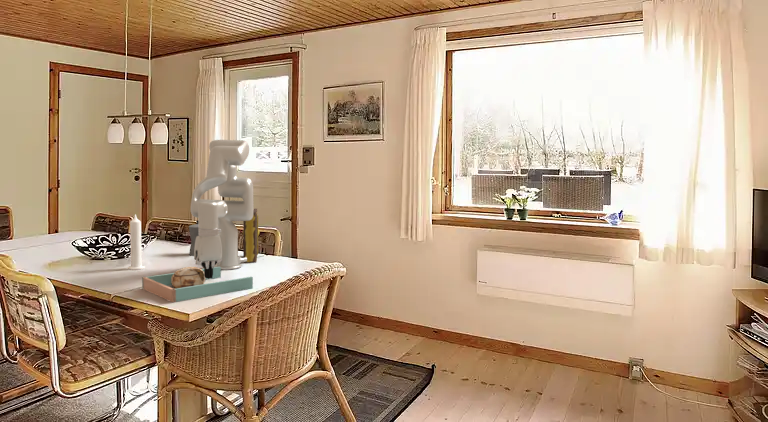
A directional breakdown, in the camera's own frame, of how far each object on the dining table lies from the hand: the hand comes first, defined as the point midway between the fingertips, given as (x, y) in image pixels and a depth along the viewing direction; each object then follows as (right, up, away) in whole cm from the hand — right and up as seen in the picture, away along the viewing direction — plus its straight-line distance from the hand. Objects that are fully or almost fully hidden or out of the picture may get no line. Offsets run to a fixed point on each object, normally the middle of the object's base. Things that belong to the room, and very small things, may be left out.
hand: (208, 277), depth 219 cm
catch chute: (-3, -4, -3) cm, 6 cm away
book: (+2, +2, +61) cm, 61 cm away
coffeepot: (-27, +4, +68) cm, 74 cm away
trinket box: (-8, -4, 0) cm, 9 cm away
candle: (-43, 0, +31) cm, 53 cm away
